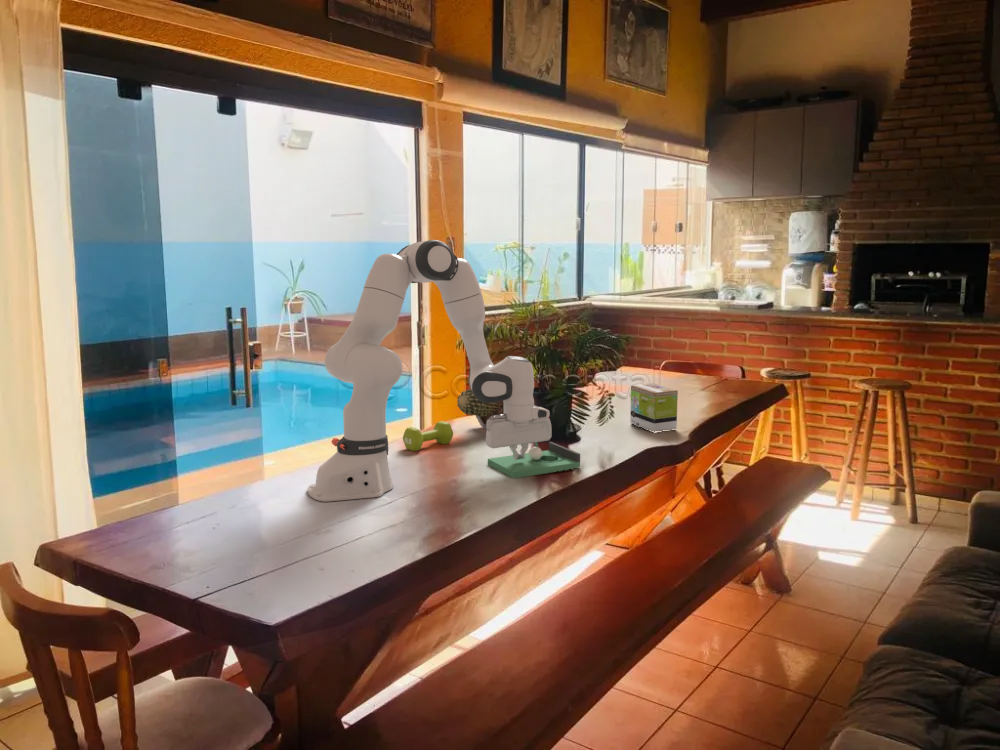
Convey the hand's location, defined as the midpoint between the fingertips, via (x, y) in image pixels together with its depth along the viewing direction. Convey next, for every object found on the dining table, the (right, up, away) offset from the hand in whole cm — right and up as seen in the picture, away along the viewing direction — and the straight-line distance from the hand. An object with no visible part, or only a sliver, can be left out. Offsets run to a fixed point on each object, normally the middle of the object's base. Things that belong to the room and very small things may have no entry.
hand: (519, 458), depth 234 cm
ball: (+5, +1, +2) cm, 6 cm away
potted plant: (-9, +5, +49) cm, 50 cm away
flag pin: (+7, -1, +12) cm, 14 cm away
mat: (+4, -2, +3) cm, 6 cm away
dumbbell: (-29, +1, +27) cm, 39 cm away
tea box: (+49, +5, +51) cm, 71 cm away
